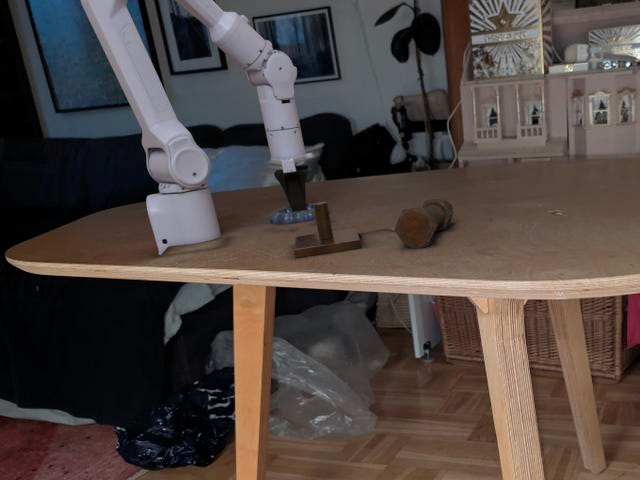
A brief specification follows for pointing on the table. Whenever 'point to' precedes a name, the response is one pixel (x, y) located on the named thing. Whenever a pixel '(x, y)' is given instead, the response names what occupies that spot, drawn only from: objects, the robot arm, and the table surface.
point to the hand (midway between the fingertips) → (299, 210)
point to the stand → (325, 236)
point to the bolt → (423, 222)
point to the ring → (292, 215)
